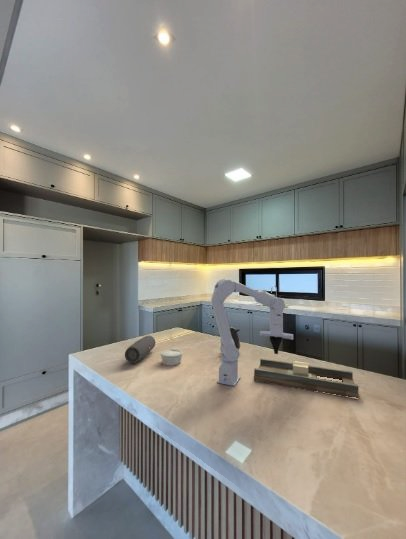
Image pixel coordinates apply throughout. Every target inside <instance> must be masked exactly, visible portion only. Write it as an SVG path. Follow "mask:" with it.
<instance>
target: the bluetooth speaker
mask: <svg viewBox="0 0 406 539" xmlns="http://www.w3.org/2000/svg"><path fill="white" fill-rule="evenodd" d="M156 343H157V342H156V339H155V338H154V336H152V335H145V336H143V337H142V338H140V339H138V340H136V341H135V342H134V343H132V344H131V345H130V346H128V347H127V348H126V350H125V351H124V358H125V361H127V362H128V363H131V364H136V363H137V362H140V361H142V360H144V359H145V357H147V355H148V354H149V353H150V352H152V350H154V348H155V346H156Z"/></svg>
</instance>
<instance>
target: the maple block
mask: <svg viewBox="0 0 406 539" xmlns="http://www.w3.org/2000/svg"><path fill="white" fill-rule="evenodd" d="M292 363H293V374H295V375H301V376H307V377H308V365H309V363H308V362H303V361H296V360H293V362H292Z"/></svg>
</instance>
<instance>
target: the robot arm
mask: <svg viewBox="0 0 406 539" xmlns="http://www.w3.org/2000/svg"><path fill="white" fill-rule="evenodd" d="M233 293H242V294H244V295H247V296H250V297H252V298H253V299H254V300H255V302H256V303H258V304H261V305H264V306H265V307H268V308H269V331H267V330H265V331H264V330H263V331H262V330H260V331H259V337H268V338H269V341H270V343H271V345H272V348H273V352H274V354H275V355H278V354H279V349H280V345H281V343H282V341H283V339H286V340H287V339H288V340H292V341H293V340H294V334H293V333H286V332H284V317H283V316H284V309H285V308H286V303H285V300H284V299H282V298H281V297H277V296H276V294H272V293H269V292H267V290H265V289H259V290H255V289H253V288H251V287H249V286H247V285H245V284H242V283H240V282H238V281H232V280H231V279H225V278H223V279H220V280H218V281H217V282H216V284H215V285H214V288H213V293H212V296H211V300H210V301H211V306H212V309H213V313H214V318H215V321H216V324H217V329H218V333H219V336H220V346H219V347H220V348H219V350H220V352H221V354H222V355H221V358H220V359H221V361H220V366H219V367H218V379H217V381H216V383H218V384H223V385H227V386H232V387H235V386H236V385H237V383H238V382H239V381H240V379H241V376H240V375H239V374H238V373H239V371H238V369H239V365H238V364H239V363H238V361H239V357H240V351H238V349H237V348H236V346H235V343H234V341H233V339H232V336H231V332H230V328H229V327H230V325H229V324H230V323H229V321H228V317H227V312H226V309H225V305H224V303H225V301H226V300H227V298H228V297H229V296H230V295H232V294H233Z"/></svg>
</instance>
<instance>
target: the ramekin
mask: <svg viewBox="0 0 406 539" xmlns="http://www.w3.org/2000/svg"><path fill="white" fill-rule="evenodd" d="M183 353H184V352H183V351H182V350H179V349H166V350H163V351H161V352H160V356H161V361H162V364H163V365H165V366H168V367H169V366H170V367H171V366H177V365H180V363H181V362H182V357H183Z"/></svg>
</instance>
